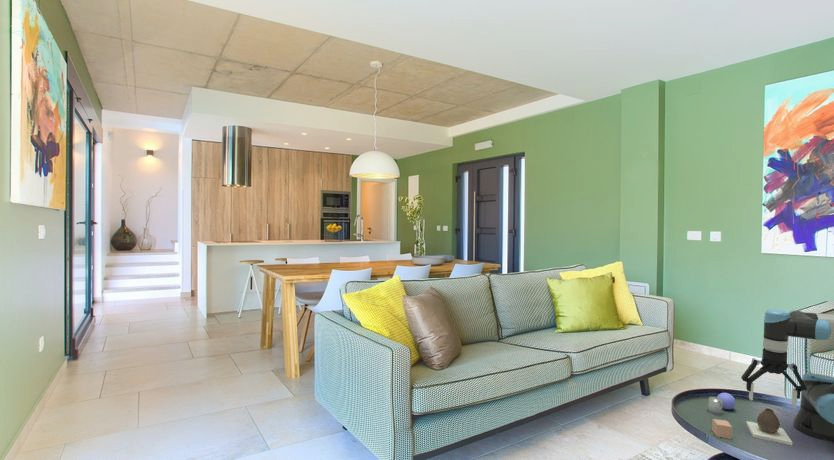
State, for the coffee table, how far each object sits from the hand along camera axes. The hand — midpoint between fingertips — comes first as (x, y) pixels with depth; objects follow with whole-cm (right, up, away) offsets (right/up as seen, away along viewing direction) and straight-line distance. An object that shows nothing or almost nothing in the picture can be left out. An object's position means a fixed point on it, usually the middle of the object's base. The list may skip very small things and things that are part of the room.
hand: (771, 402), depth 174 cm
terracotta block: (-20, -13, -1) cm, 24 cm away
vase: (-1, -12, +1) cm, 12 cm away
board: (-1, -13, +1) cm, 13 cm away
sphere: (-2, -12, +23) cm, 26 cm away
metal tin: (-10, -12, +19) cm, 24 cm away
